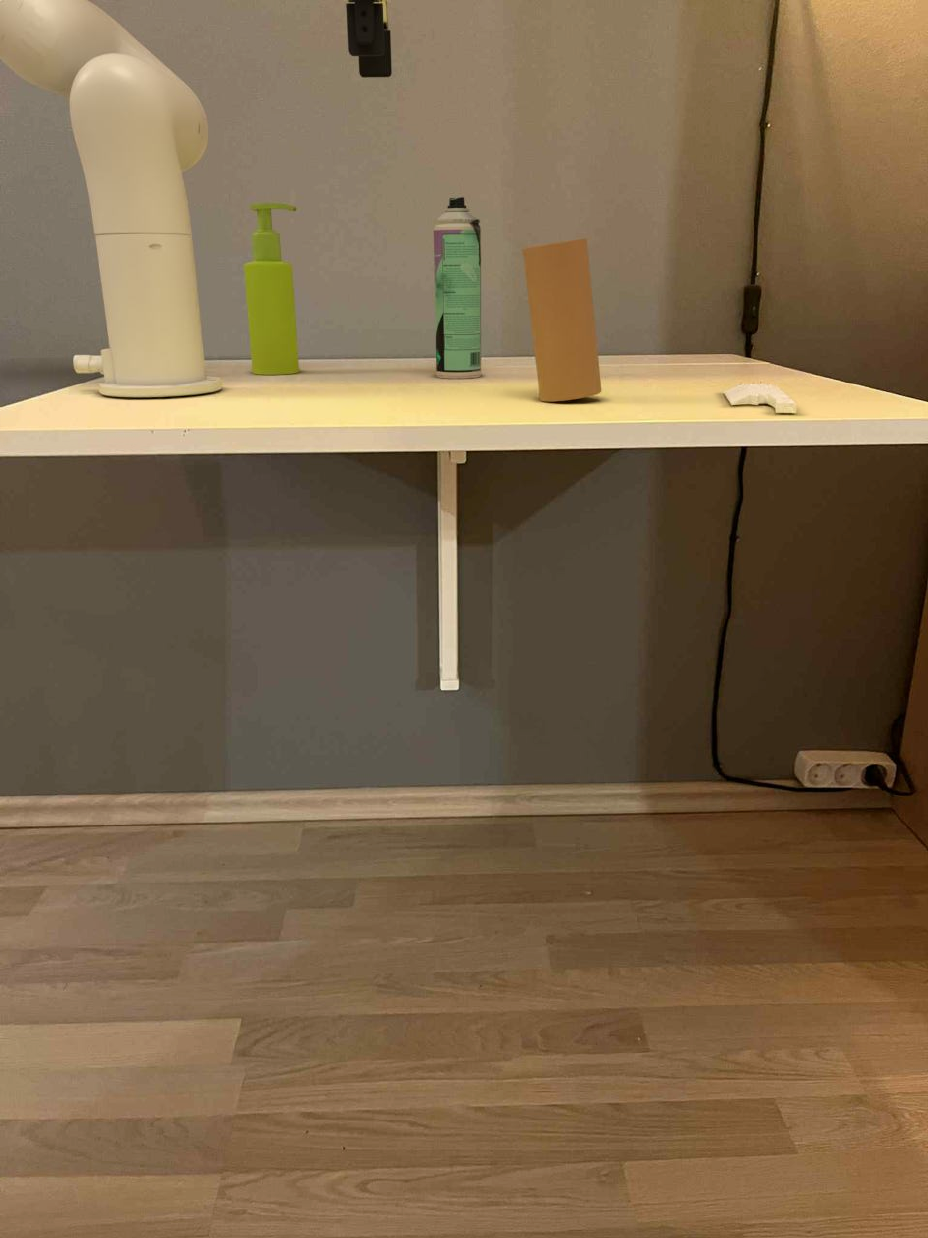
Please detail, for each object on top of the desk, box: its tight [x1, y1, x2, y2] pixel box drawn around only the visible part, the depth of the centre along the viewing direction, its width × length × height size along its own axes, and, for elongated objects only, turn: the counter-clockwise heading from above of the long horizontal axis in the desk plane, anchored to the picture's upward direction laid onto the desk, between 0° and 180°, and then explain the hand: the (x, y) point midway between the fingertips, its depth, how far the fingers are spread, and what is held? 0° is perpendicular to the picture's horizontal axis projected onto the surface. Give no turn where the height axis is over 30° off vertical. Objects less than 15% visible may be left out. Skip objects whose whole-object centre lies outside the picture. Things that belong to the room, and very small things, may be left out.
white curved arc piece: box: [723, 382, 797, 414], centre depth 89 cm, size 5×15×1 cm, turn 169°
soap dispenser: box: [243, 202, 300, 376], centre depth 119 cm, size 6×7×20 cm
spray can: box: [433, 196, 482, 380], centre depth 112 cm, size 6×6×20 cm
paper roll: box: [521, 238, 602, 403], centre depth 90 cm, size 14×6×6 cm
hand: (371, 66), depth 90 cm, fingers open, 9 cm apart
